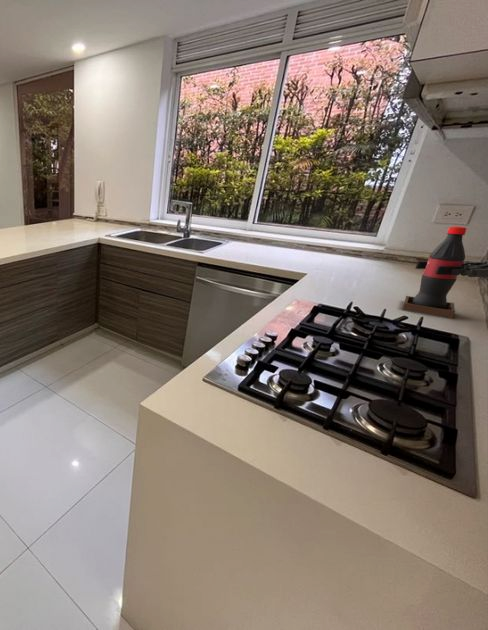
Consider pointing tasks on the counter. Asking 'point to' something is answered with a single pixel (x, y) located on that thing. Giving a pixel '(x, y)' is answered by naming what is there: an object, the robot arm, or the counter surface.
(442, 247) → the cola bottle
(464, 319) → the counter surface
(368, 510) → the counter surface
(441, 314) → the bottle tray
